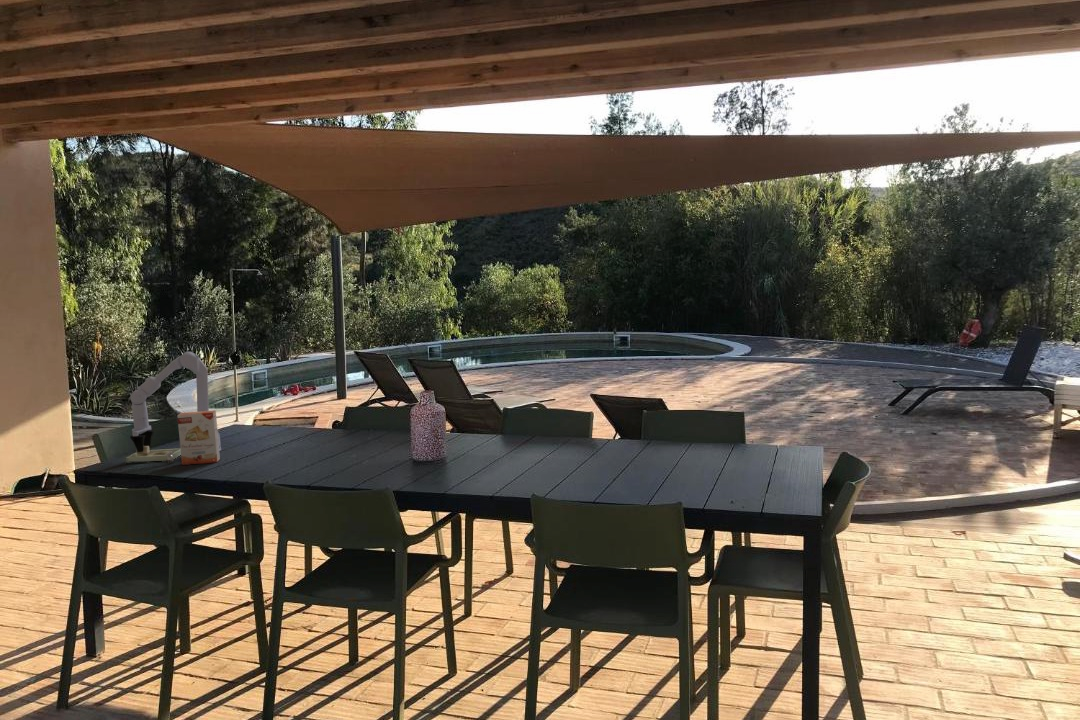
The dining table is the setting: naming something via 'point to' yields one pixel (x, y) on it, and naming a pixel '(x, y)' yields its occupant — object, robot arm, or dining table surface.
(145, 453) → the tan joined block frame
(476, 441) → the dining table surface
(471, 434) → the dining table surface
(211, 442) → the cracker box
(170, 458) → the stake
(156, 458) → the tray
